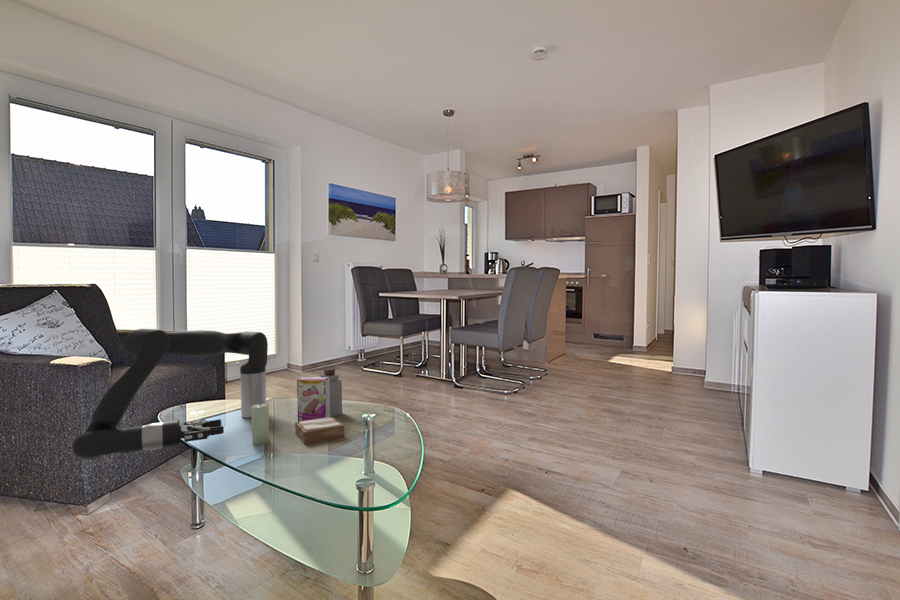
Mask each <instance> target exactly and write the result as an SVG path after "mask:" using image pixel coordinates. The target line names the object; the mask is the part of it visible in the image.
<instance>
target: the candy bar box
mask: <svg viewBox="0 0 900 600" xmlns="http://www.w3.org/2000/svg"><path fill="white" fill-rule="evenodd" d="M296 392H297V395H296V396H297V397H296V398H297V422H300V421H307V420H313V419H319V418H325V417H330V378H327V377H321V376H320V377H317V376H316V377H315V376H302V377H299V378H298V379H296Z"/></svg>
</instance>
